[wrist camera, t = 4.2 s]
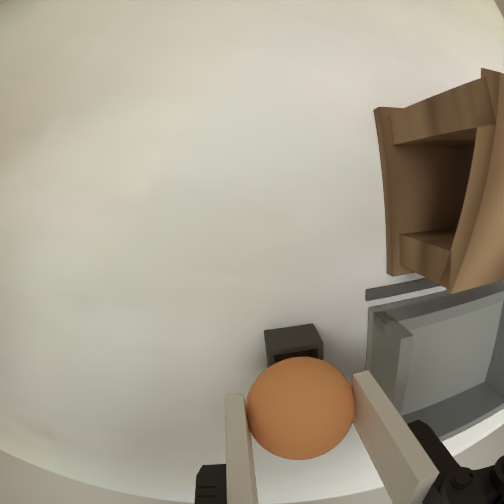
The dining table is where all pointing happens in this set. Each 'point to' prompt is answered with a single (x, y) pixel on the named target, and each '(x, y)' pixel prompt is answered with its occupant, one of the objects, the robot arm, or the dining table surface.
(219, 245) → the dining table surface
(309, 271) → the dining table surface
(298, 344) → the dark open box
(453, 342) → the bin
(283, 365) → the ball
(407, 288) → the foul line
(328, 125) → the dining table surface
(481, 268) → the wooden cubby
